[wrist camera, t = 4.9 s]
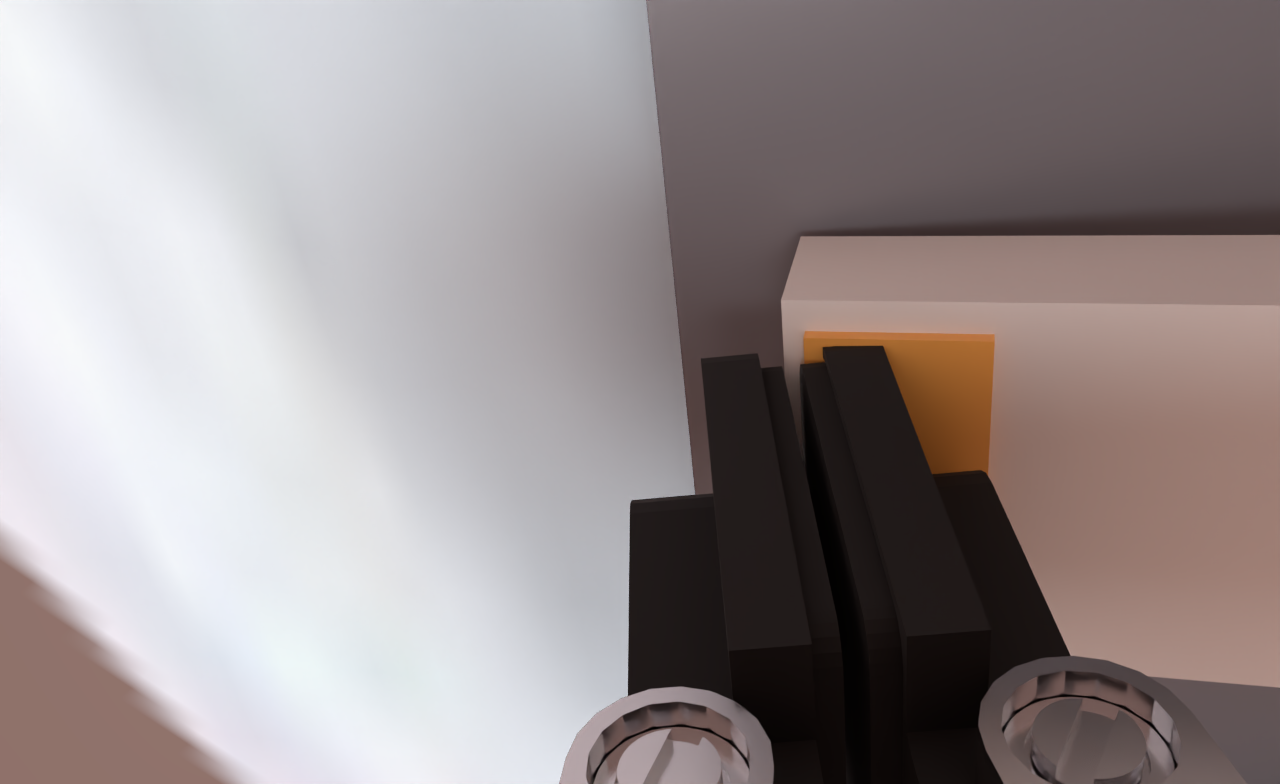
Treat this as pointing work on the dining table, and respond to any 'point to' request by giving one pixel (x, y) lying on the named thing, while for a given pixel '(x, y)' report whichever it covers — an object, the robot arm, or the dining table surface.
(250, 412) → the dining table surface
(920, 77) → the grey switch panel
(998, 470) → the rocker middle
